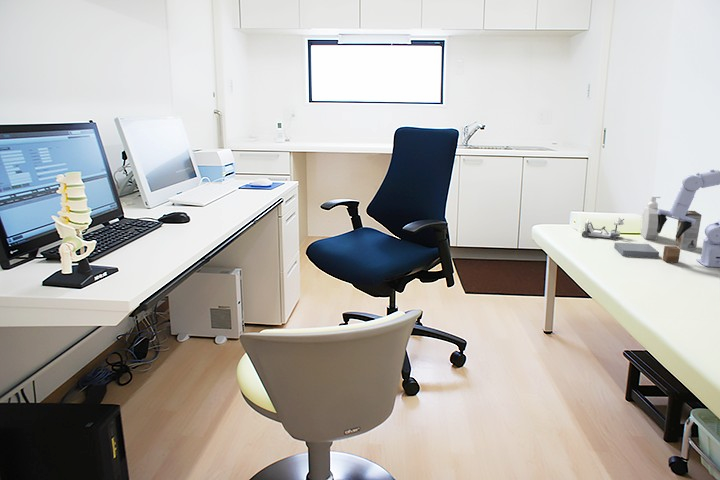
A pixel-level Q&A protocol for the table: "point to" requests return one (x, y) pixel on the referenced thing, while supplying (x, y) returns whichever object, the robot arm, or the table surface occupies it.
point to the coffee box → (689, 233)
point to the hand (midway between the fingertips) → (667, 235)
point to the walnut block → (671, 254)
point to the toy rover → (599, 233)
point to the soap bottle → (650, 220)
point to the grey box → (636, 250)
